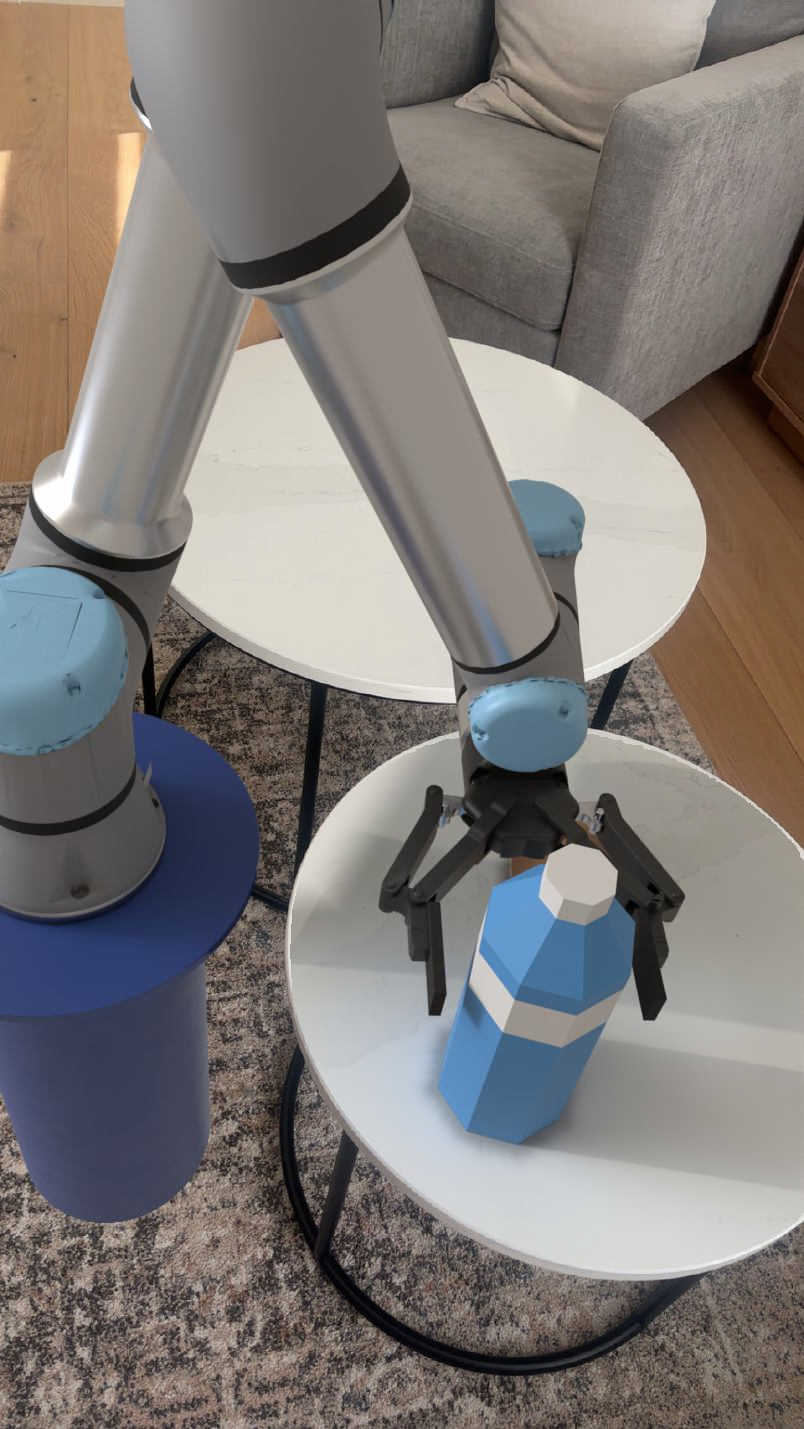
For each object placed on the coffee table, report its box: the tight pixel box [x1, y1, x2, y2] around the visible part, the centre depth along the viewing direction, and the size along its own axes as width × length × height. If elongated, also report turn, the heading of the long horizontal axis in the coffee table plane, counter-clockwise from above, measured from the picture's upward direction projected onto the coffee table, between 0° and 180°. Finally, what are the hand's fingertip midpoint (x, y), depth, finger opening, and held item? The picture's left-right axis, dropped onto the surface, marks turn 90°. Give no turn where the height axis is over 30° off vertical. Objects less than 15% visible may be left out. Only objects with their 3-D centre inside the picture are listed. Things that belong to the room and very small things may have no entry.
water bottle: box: [437, 844, 635, 1145], centre depth 69 cm, size 9×9×25 cm
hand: (547, 1008), depth 67 cm, fingers open, 13 cm apart
